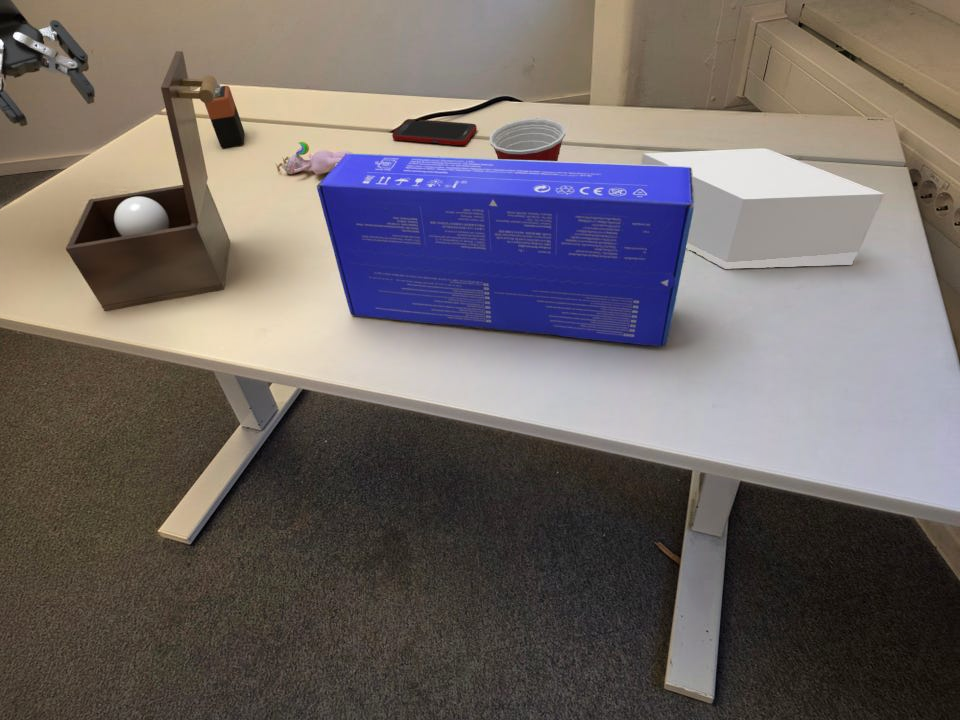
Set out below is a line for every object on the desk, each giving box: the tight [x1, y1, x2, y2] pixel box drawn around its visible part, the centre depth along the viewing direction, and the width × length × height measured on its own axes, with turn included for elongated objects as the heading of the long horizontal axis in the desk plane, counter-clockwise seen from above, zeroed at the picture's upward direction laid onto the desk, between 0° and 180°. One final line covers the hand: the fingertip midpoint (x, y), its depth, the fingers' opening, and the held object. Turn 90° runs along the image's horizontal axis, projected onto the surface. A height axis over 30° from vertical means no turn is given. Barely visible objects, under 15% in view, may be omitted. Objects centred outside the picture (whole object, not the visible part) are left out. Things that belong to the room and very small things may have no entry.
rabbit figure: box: [275, 141, 354, 175], centre depth 104 cm, size 6×6×15 cm
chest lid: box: [160, 50, 218, 224], centre depth 75 cm, size 16×13×5 cm
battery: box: [204, 83, 245, 149], centre depth 114 cm, size 4×7×10 cm, turn 15°
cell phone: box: [391, 118, 477, 146], centre depth 114 cm, size 8×15×1 cm, turn 72°
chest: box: [65, 183, 231, 312], centre depth 83 cm, size 16×13×10 cm
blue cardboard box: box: [316, 153, 694, 347], centre depth 69 cm, size 39×8×18 cm, turn 77°
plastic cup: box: [489, 118, 567, 161], centre depth 89 cm, size 11×11×12 cm
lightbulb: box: [114, 196, 169, 237], centre depth 81 cm, size 6×6×11 cm
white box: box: [640, 147, 885, 262], centre depth 80 cm, size 14×29×10 cm, turn 62°
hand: (58, 110), depth 78 cm, fingers open, 8 cm apart
